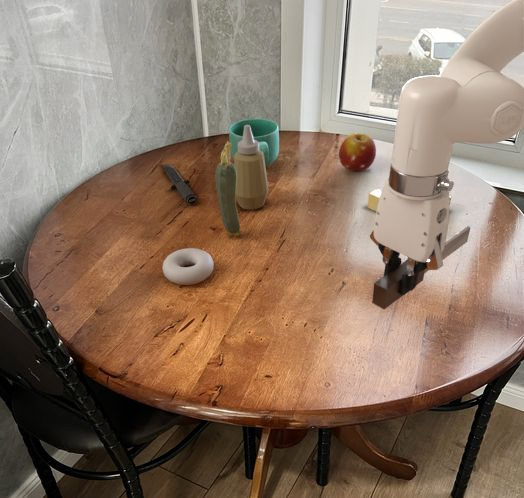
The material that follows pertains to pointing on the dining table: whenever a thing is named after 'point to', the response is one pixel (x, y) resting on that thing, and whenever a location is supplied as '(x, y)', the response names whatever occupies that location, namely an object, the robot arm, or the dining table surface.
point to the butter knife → (390, 283)
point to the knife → (181, 185)
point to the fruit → (357, 152)
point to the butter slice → (374, 199)
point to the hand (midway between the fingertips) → (398, 286)
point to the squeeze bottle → (250, 172)
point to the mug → (257, 137)
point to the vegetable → (227, 191)
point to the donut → (188, 275)
